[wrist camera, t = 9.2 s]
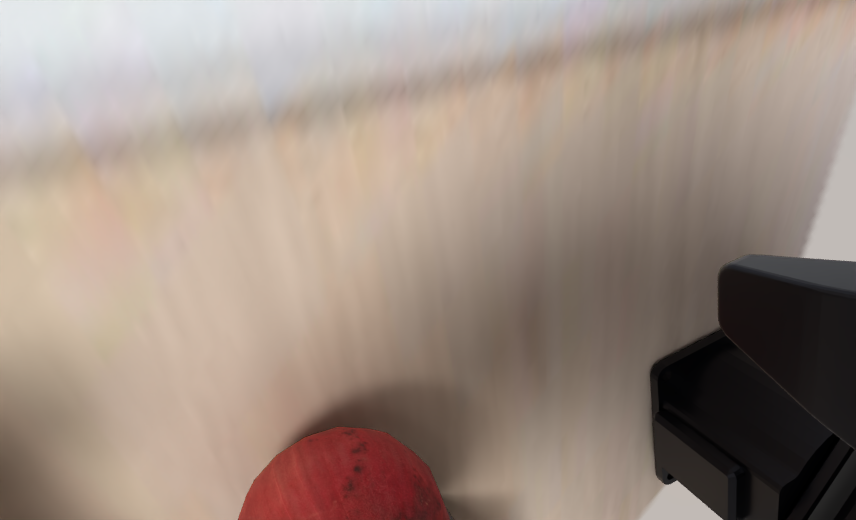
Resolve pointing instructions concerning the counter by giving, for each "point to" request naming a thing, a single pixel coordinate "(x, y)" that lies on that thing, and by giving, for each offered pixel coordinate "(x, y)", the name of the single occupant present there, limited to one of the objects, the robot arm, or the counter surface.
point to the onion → (345, 481)
